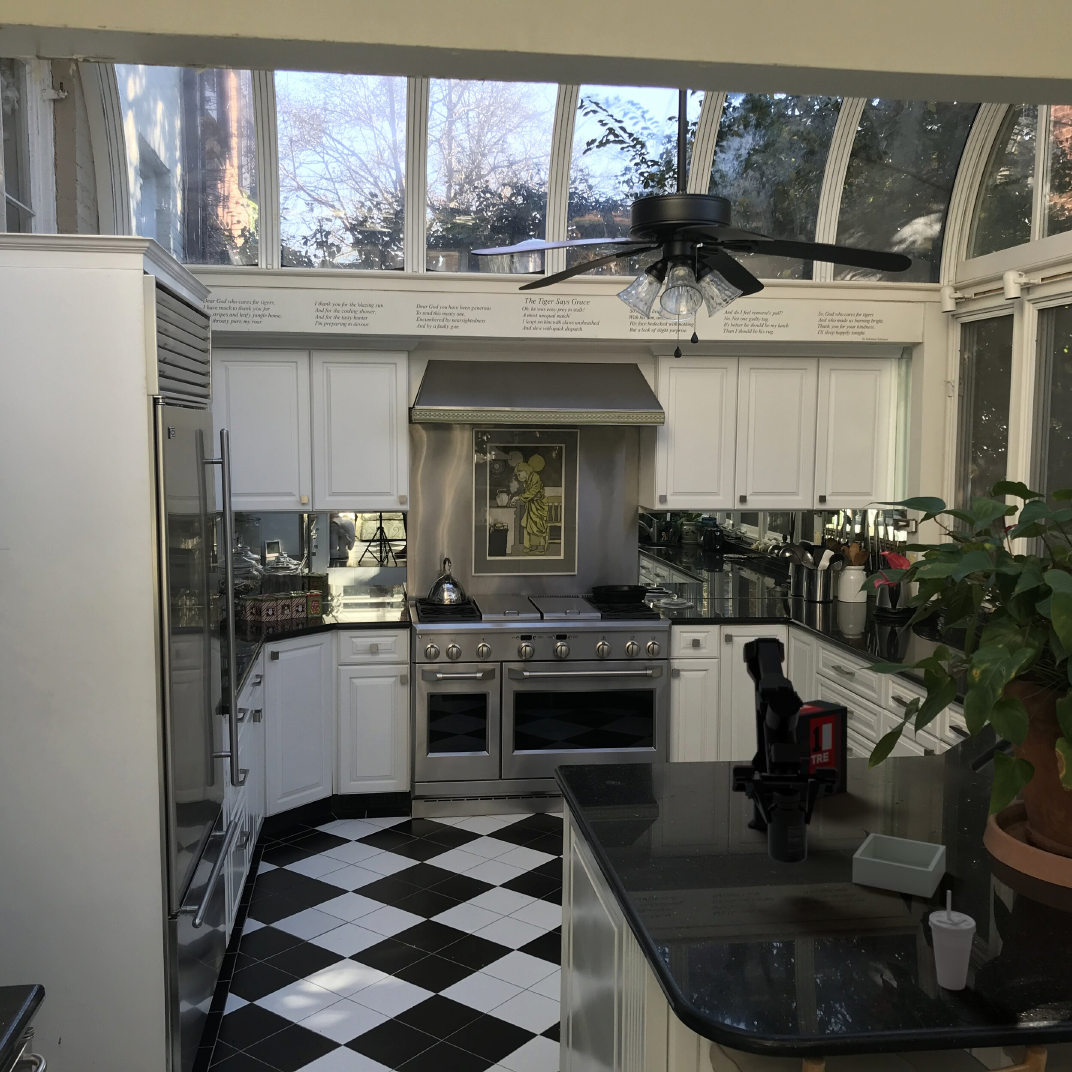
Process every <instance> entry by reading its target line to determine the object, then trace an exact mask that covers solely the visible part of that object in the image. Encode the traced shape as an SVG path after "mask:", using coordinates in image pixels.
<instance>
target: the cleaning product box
mask: <svg viewBox="0 0 1072 1072" xmlns="http://www.w3.org/2000/svg"><path fill="white" fill-rule="evenodd" d="M795 734H796V744H799V741H800V740H810V744H811V758H810V759H801V766H802V767H801V770H799V773H800V774H814V770H815V767H834V768H835V769H836V770H837V771H838V775H839V783H838V786H837V790H836V793H834V794H824V795H823V797H822V798H821V799H824V798H827V797H831V796H835V795H840V794H843V793H847V792H848V706H845V705H841V704H837V703H833V702H829V701H827V700H826V701H825V700H822V699H815V700H809V701H804V702H803V708H800V712H799V717H798V722H797V725H796V728H795ZM791 788H793V789H797V790H799V791H800V792H801V803H800V804H802V803H806V794H807V790H808V786H807V785H793V784H791ZM818 799H820V798H817V800H818Z"/></svg>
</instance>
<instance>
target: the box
mask: <svg viewBox="0 0 1072 1072" xmlns="http://www.w3.org/2000/svg"><path fill="white" fill-rule="evenodd" d="M946 848H947V845H943V844H937V843H930V842H924V841H918V840H914V839H913V840H912V839H906V838H901V837H896V836H895V837H894V836H890V835H889V836H888V835H885V834H879V833H873V832H871V833H869V835H868V836H867V838H866V839H865V840H864V842H863V843H862V844H861V845H860V847H859V848H858V849H857V851H856V852H855V853H854V854H853V856H852V883H854V884H858V885H863V886H868V887H873V888H880V889H884V890H888V891H889V890H890V891H894V892H899V893H903V894H909V895H914V896H919V897H923V898H929V899H932V897H933V895H934V894H935V892H936V890H937V888H938V886H939V884H940V882H941V880H942V878H943V876H944V875H945V873H946V856H947V855H946V851H947V849H946Z"/></svg>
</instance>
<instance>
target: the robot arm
mask: <svg viewBox="0 0 1072 1072" xmlns="http://www.w3.org/2000/svg"><path fill="white" fill-rule="evenodd" d="M785 654H786V653H785V643H784V642H782V641H780V639H779V638H777V637H773V636H772V637H768V636H767V637H766V636H765V637H764V636H763V637H757V638H754V640H751V641H748V642H745V643H744V645H743V647H742V658H743V660H742V661H743V663H744V664H745V666H746V673H747V675H748V676H749V677H750V679H751V680H752V682H753V685H754V686H753V687H754V707H755V708H754V710H755V737H756V752H755V754H754V756H753V757H752V759H751V761H750V762H749V764H748V765H747V764H746V765H743V764H741V765H740V764H738V765H736V764H735V765H734V766H733V768H732V770H731V771H732V772H731V780H730V781H731V783H730V784H731V791H732V792H733V793H744V795H745V796H746V797H747V800H752V806H753V807H752V809H753V810H752V814H753V816H752V817H753V818H752V819H751V820H750V821H749V822H748V823H747V827H749V828H756V829H761V830H765V831H768V824H769V813H768V809H769V807H770V806H771V805H772V804H774V802H773V791H774V790H775V789H777V788H791V784H793V785H807V786H808V790H807V794H806V802H805V805H806V806H805V807H806V808H805V810H806V812H807V826H810V824H811V820H812V816H813V811H814V807H815V805H816V802H817V800H818V799H817V798H819V799H823V798H824V797H823V795H824V794H834V793H836V790H837V786H838V783H839V775H838V771H837V770H836V769H835V768H834V767H815V770H814V774H800V773H799V770H801V767H802V766H801V759H810V758H811V744H810V740H800V741H799V744H796V734H795V728H796V725H797V722H798V717H799V712H800V708H803V700H802V698H801V697H800V696H799V694H798V691H796V690H795V689H794V685H793V682H792V681H791V680H790V679H789V678H787V677H785V675H784V669H783V665H782V664H783V663H784V662H785V661H786V655H785ZM822 797H823V798H822Z"/></svg>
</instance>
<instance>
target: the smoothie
mask: <svg viewBox="0 0 1072 1072" xmlns="http://www.w3.org/2000/svg"><path fill="white" fill-rule="evenodd" d="M928 918H929V921H928V925H929V926H930V927H931V935H932V944H933V950H934V951H933V952H934V959H935V961H934V962H935V967H936V979H937V983H938V985H939V986H941V987H942V988H944V989H947V990H952V991H960V990H963V989H965V987H966V983H967V975H968V969H969V963H970V962H969V961H970V956H971V949H972V944H973V943H972V942H973V938H974V937H973V936H974V934H975V933H976V931H977V927H976V920H974V919H973V918H972V917H970V916H969V915H967V914H964V913H961V912H959V911H953V910H952V891H951V890H949V889H948V890H947V889H946V910H937V911H934V912H931V913H930V914H929V917H928Z"/></svg>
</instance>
